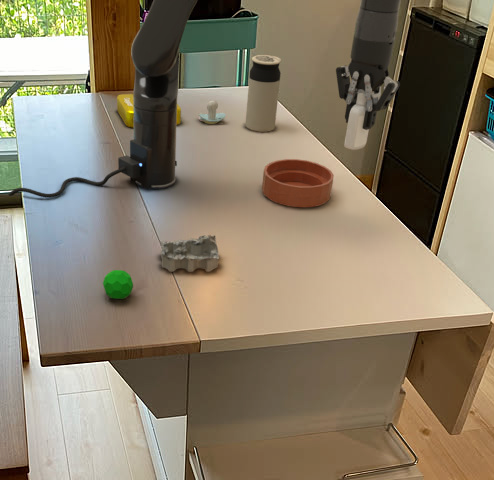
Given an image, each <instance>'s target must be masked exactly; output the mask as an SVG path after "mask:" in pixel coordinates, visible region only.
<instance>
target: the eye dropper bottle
mask: <svg viewBox="0 0 494 480" xmlns="http://www.w3.org/2000/svg"><path fill="white" fill-rule="evenodd" d="M366 110H367V99H366V98H365V91H364V90H362V91H360V92H358V96H357V101H356V104H355V105H354V106H353V107H352V109H351V111H350V114H349V119H348V123H347V126H346V133H345V138H344V144H343V146H344V148H346V149H349V150H352V151H356V150H361V149H363V148H365V146H366V145H367V142H368V136H369V131H370V129H368V130H365V129H363V122H364V117H365V111H366Z"/></svg>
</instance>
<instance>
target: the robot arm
mask: <svg viewBox="0 0 494 480" xmlns="http://www.w3.org/2000/svg"><path fill="white" fill-rule="evenodd" d="M197 2H198V0H153V1H152V3H151V5H150V8H149V10H148V13H147V14H146V16H145V18H144V20H143V23H142V25H141V26H140V29H139V30H138V31H137V33H136V35H135V37H134V38H133V41H132V43H131V48H130V49H131V50H130V53H131V60H132V63H133V65H134V82H133V83H134V85H133V91H132V94H133V109H134V128H133V138H132V139H130V140H129V155H124V156H123V155H122V156H120V157H118V158H117V159H118V160H117V161H118V162H117V165H118V169H115V170H113V171H112V172H110V173H108V174H107V175H106V176H105V177H104V178H103V179H102V180H101V181H92V180H89V179H86V178H84V177H79V176H73V177H69V178H66V179H65V180H64V181H63V182H62V184H61V187H60V189H59V190H58V191H56V192H52V193H45V192H41V191H38V190H34V189H31V188H27V187H17V188H14V189H12V190H11V191H10V192H9V193H7V196H8V197H11V196H14V195H15V194H17V193H28V194H32V195H34V196H37V197H40V198H46V199H47V198H48V199H49V198H56V197H59V196H61V195H62V194H63V193H64V191H65V189H66V186H67V185H68V184H69V183H71V182H81V183H85V184H88V185H91V186H96V187H101V186H104V185H106V184H107V182H108V181H109V180H110V179H111V178H113V177H114V176H116V175H118V174H120V173H122V174H124V175H126V176H127V177H129V180H130V182H132V183H134V184H136V185H138V186H139V187H142V188H143V189H145V190H151V189H152V190H153V189H164V188H169V187H171V186H172V185H174V184H175V183H176V167H177V163H178V162H177V160H176V156H177V155H176V154H177V153H176V152H177V125H176V123H177V104H178V95H179V94H178V93H179V85H180V84H179V83H180V82H179V81H180V79H179V78H180V53H181V52H180V51H181V50H180V49H181V43H182V42H181V41H182V39H183V34H184V32H185V29H186V26H187V23H188V20H189V18H190V17H191V16H190V15H191V13H192V12H193V9H194V7H195V6H196V4H197ZM401 3H402V0H360V3H359V8H358V12H357V16H356V20H355V25H354V30H353V31H354V32H353V33H354V34H353V37H352V38H353V39H352V43H351V44H352V45H351V50H350V59H351V60H350V62H349V64H348V65H341V66H338V67H336V69H335V74H336V82H337V83H336V84H337V90H338V97H339V99H342V100H344V101H345V103H346V107H345V112H344V120H345V123H346V124H348V119H349V114H350V111H351V109H352V107H353V106H354V105H355V104H356V101H357V96H358V92H360V91H362V90H364V91H365V98H366V99H367V110H366V111H365V117H364V122H363V129H365V130H368V129H369V130H370V129H372V128H373V127H374V126H375V124H376V117H377V112H379V111H382V110H386V109H388V107H389V105H390V104H391V102H392V100H393V98H394V97H395V95H396V93H397V91H398V90H399V88H400V86H401V82H400V81H399V80H393V79H392V78H391V77H390V73H389V66H390V64H391V61H392V56H393V51H394V46H395V41H396V36H397V31H398V25H399V14H400V12H399V11H400V7H401ZM383 85H384V86H383ZM382 86H383V89H382ZM382 90H383V92H382Z"/></svg>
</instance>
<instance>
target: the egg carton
mask: <svg viewBox="0 0 494 480" xmlns="http://www.w3.org/2000/svg"><path fill="white" fill-rule="evenodd" d="M217 243H218V242H217V237H216V235H214V234H213V235H211V234H208V235H205V234H204V235H201V236H198V238H192V237H191V238H190V239H184V240H182V239H178V240H173V241H163V240H162V241H160V250H161V251H160V254H161V256H160V257H161V267H162V268H163V269H165V270H168V272H171V273H172V272H173V273H174V272H175V271H176V270H178V269H184V270H186V271H187V272H188V273H189V272H194V271H195V270H197V269H203V270H205V271H206V272H207V273H209V272H210V273H211V272H212V271H213V270H215V269H217V268H218V265H219V259H220V255H219V248H218V244H217Z"/></svg>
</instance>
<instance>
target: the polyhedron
mask: <svg viewBox="0 0 494 480" xmlns="http://www.w3.org/2000/svg"><path fill="white" fill-rule="evenodd" d="M102 285H103V288H104V292H105V294H106V295H107V297H109V298H110V299H114V300H125V299H126V298H127V297H128V296H130V295H131V293H132V291H133V288H134V284H133V279H132V277H131V275H130V274H129V273H128V272H127V271H125V270H122V269H113V270H111V271H109V272H108V273H106V275H105V276H104V278H103V282H102Z"/></svg>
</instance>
